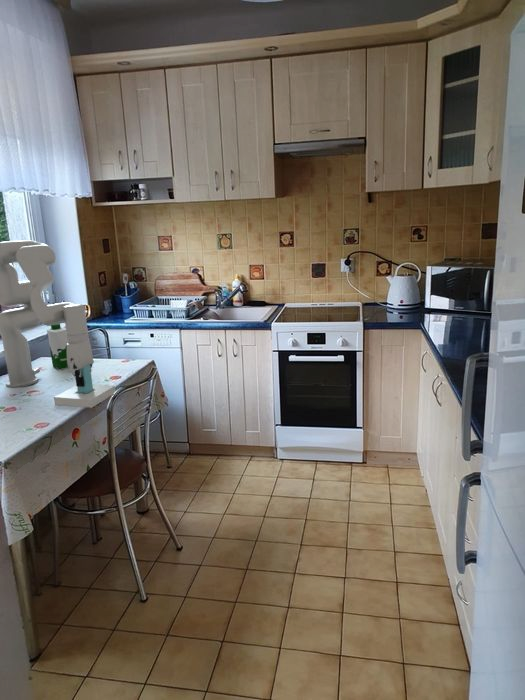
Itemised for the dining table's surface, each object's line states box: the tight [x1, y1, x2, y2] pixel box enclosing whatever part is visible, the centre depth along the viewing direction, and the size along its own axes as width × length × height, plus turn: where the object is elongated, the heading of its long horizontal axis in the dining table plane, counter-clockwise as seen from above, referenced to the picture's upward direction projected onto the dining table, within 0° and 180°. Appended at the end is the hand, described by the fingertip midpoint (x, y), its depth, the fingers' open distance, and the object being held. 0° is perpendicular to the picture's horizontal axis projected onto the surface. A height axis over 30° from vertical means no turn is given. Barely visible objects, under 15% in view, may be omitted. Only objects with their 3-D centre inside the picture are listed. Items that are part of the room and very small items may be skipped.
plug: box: [76, 364, 93, 393], centre depth 201 cm, size 4×4×10 cm
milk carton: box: [46, 324, 69, 370], centre depth 245 cm, size 9×9×20 cm
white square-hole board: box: [53, 383, 116, 408], centre depth 205 cm, size 22×16×3 cm
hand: (84, 383), depth 201 cm, fingers closed on plug, 4 cm apart
